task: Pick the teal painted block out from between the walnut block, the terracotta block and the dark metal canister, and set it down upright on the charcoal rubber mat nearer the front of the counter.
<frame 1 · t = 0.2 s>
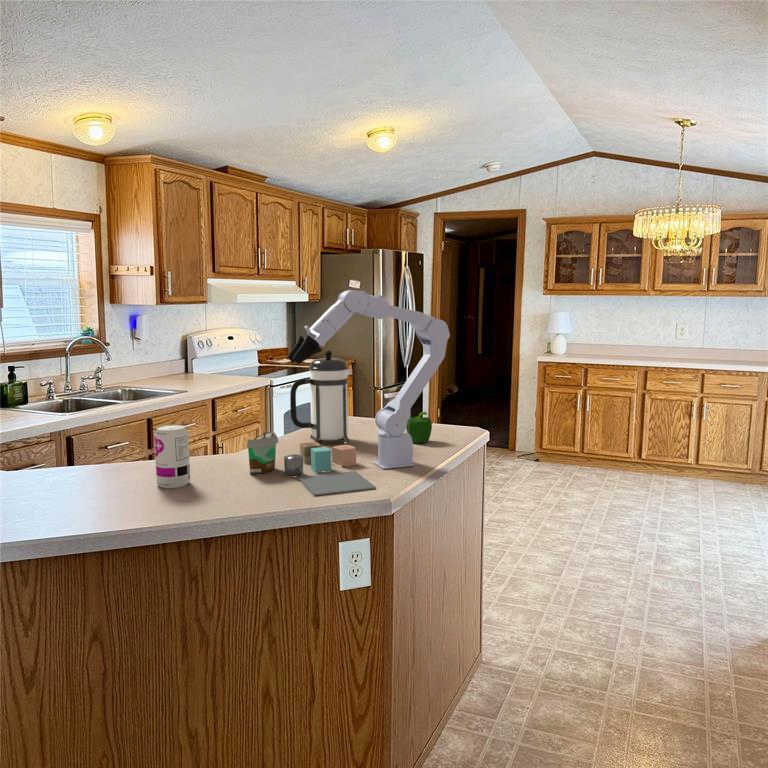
hand: (292, 361, 176), 31 cm above the countertop, tool tilted 45°, fingers open, 7 cm apart
teal block: (321, 470, 185), on the countertop
mat: (335, 483, 172), on the countertop
metal canister: (294, 474, 181), on the countertop
bell pepper: (418, 442, 218), on the countertop
coffee press: (326, 442, 220), on the countertop
food container: (267, 471, 185), on the countertop
walnut block: (310, 461, 195), on the countertop
terracotta block: (344, 464, 192), on the countertop
supplement can: (173, 485, 172), on the countertop
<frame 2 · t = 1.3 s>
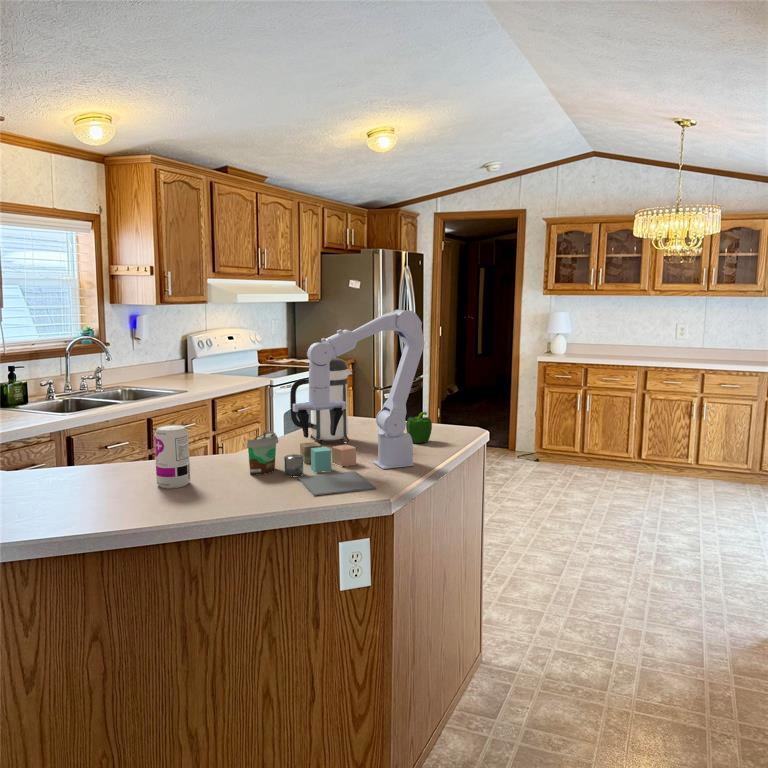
hand: (319, 435, 184), 10 cm above the countertop, tool pointing down, fingers open, 7 cm apart
nothing on the countertop moved.
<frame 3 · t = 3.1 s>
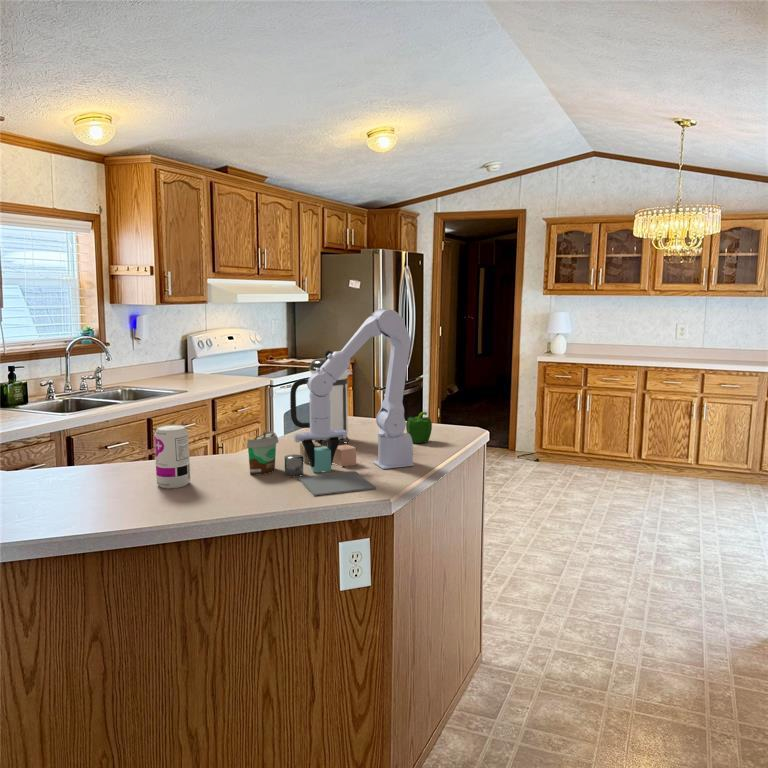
hand: (321, 465, 185), 1 cm above the countertop, tool pointing down, fingers closed on teal block, 4 cm apart
teal block: (321, 470, 185), on the countertop, touching gripper
everything else where it was.
when the fingers open (3 cm above the countertop, at t = 7.5 s): teal block drops 1 cm, resting on mat.
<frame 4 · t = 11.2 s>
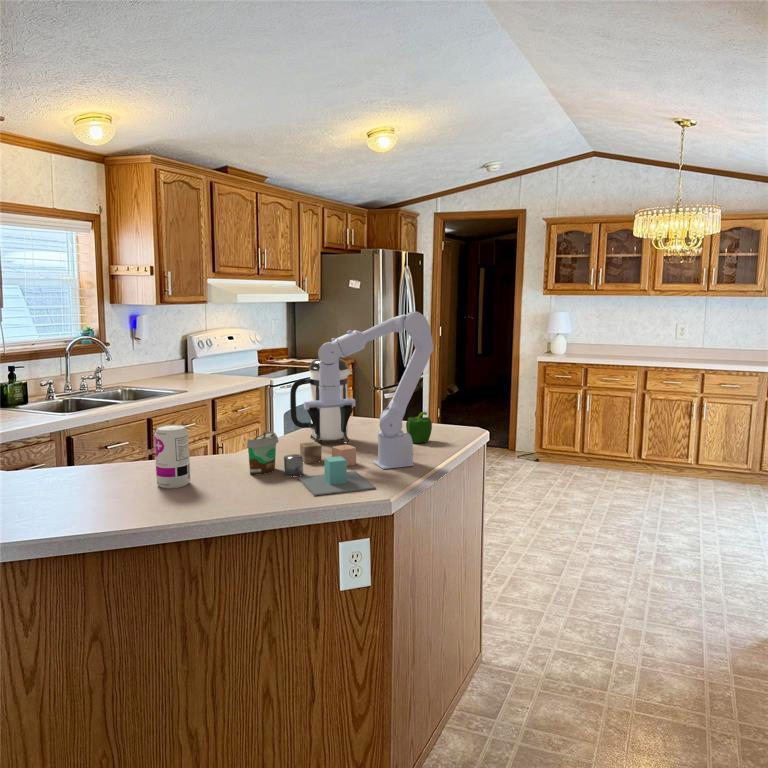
hand: (330, 432, 189), 9 cm above the countertop, tool pointing down, fingers open, 7 cm apart
teal block: (335, 481, 173), resting on mat
everything else where it was.
at the end: teal block inside the target area on the mat (0.3 cm from its centre), point 0.5 cm above the mat's base; teal block tilted 0°; the gripper is holding nothing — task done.
